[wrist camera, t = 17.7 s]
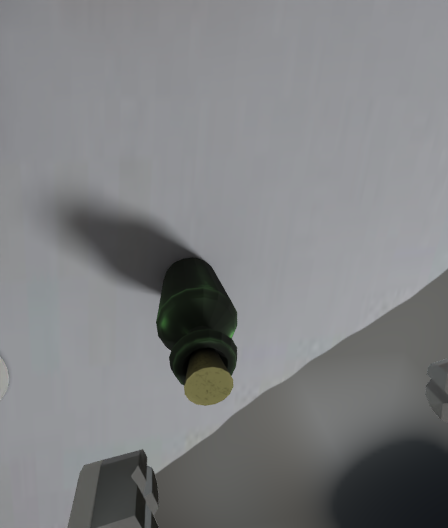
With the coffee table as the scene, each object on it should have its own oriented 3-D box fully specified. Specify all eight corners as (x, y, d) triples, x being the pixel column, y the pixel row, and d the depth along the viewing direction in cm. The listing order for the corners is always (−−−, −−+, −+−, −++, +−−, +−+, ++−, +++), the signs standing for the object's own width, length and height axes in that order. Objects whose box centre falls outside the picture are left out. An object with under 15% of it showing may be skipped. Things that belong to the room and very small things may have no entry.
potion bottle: (142, 277, 40) (131, 387, 24) (196, 237, 39) (220, 323, 23) (185, 319, 44) (199, 440, 28) (234, 283, 43) (279, 386, 27)
